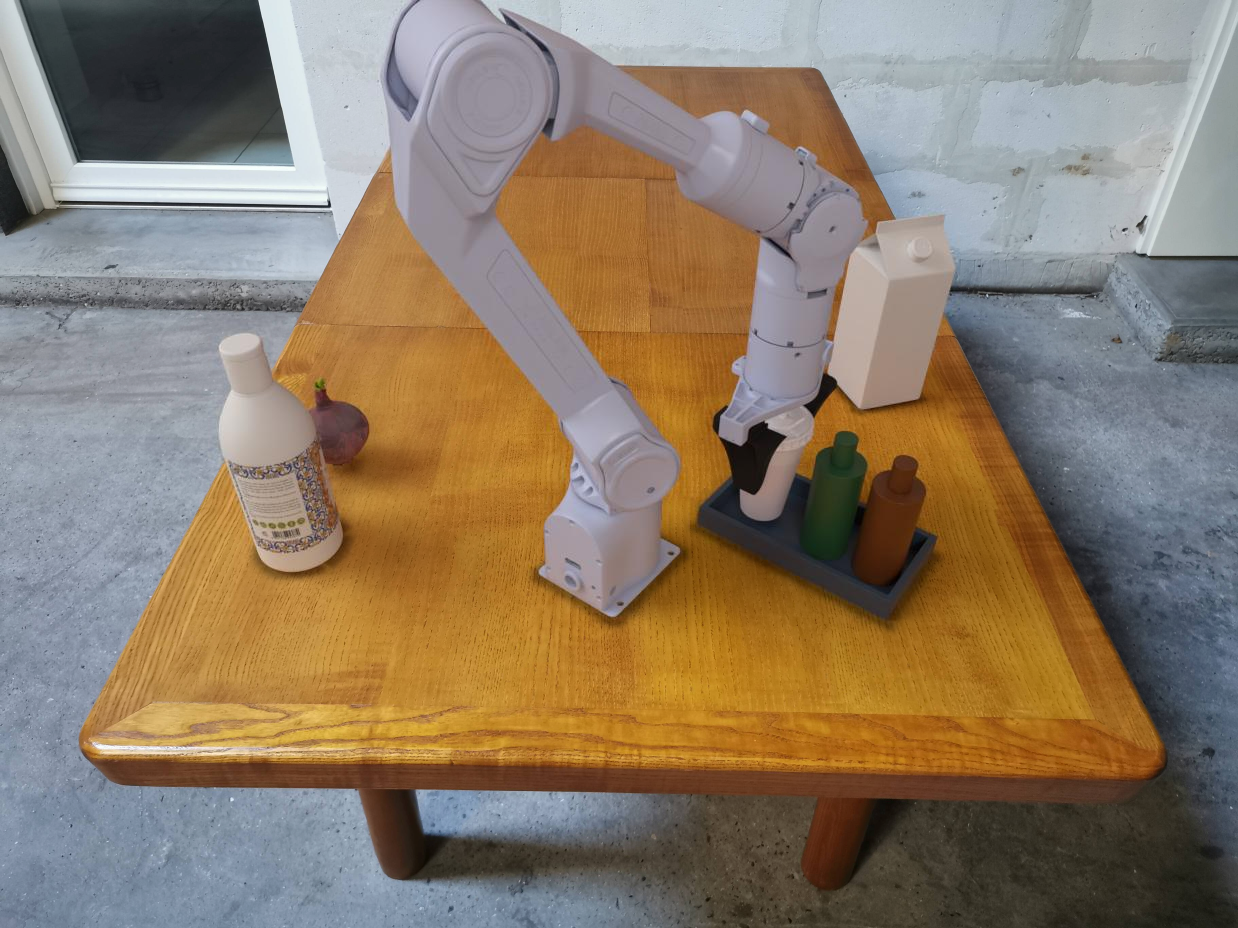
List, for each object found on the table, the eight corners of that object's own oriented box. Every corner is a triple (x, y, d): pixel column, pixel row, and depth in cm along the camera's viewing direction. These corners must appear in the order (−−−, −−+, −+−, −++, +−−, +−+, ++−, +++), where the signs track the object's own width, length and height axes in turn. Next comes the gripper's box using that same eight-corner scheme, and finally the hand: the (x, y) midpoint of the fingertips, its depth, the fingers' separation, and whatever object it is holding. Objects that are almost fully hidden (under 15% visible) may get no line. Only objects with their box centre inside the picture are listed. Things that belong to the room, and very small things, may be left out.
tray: (885, 624, 69) (892, 602, 67) (696, 527, 77) (698, 506, 75) (931, 557, 74) (938, 536, 73) (750, 474, 82) (753, 453, 81)
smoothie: (803, 532, 74) (830, 397, 66) (727, 531, 75) (744, 395, 66) (793, 483, 79) (817, 351, 70) (722, 481, 79) (737, 349, 70)
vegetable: (295, 480, 81) (269, 390, 75) (327, 440, 86) (305, 352, 79) (356, 490, 80) (335, 400, 74) (385, 449, 85) (367, 361, 78)
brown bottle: (888, 594, 70) (921, 486, 63) (842, 571, 72) (869, 464, 65) (908, 565, 73) (942, 459, 65) (864, 544, 75) (892, 438, 67)
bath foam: (354, 556, 73) (302, 353, 61) (269, 586, 71) (196, 380, 58) (332, 507, 78) (279, 309, 65) (251, 533, 75) (179, 332, 63)
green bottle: (834, 567, 72) (859, 460, 65) (791, 546, 74) (811, 440, 67) (855, 540, 75) (882, 434, 68) (813, 520, 77) (835, 415, 70)
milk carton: (826, 374, 95) (858, 207, 83) (884, 364, 97) (924, 199, 85) (859, 411, 90) (898, 239, 78) (919, 400, 92) (967, 229, 80)
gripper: (788, 276, 72) (768, 410, 81) (689, 350, 63) (679, 493, 72) (868, 302, 69) (838, 439, 77) (776, 385, 60) (754, 530, 68)
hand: (766, 467), depth 74 cm, fingers closed on smoothie, 6 cm apart
